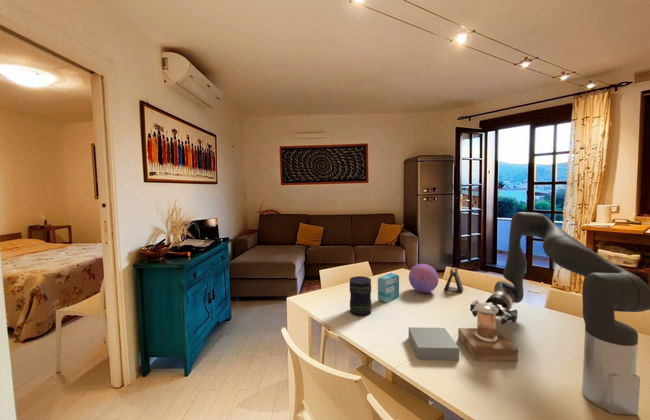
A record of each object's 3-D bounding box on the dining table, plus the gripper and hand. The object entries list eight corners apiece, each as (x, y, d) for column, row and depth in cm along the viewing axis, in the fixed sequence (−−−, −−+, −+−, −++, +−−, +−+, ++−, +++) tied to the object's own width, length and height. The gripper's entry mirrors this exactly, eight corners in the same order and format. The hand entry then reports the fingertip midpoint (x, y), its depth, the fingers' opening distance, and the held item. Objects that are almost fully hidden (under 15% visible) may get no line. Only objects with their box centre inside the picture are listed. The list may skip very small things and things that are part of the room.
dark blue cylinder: (346, 309, 127) (345, 277, 126) (364, 305, 131) (364, 275, 130) (356, 318, 118) (355, 284, 117) (375, 314, 121) (375, 281, 120)
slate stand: (459, 360, 88) (459, 348, 88) (417, 359, 89) (417, 347, 88) (444, 338, 101) (444, 327, 100) (408, 337, 102) (408, 327, 101)
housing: (501, 343, 90) (502, 311, 89) (480, 343, 90) (481, 310, 89) (490, 333, 96) (491, 302, 95) (471, 332, 97) (472, 302, 96)
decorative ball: (411, 296, 140) (411, 268, 139) (406, 286, 155) (406, 260, 154) (441, 297, 138) (442, 268, 137) (434, 287, 153) (434, 260, 152)
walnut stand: (517, 361, 87) (518, 349, 86) (475, 360, 87) (475, 348, 87) (495, 339, 99) (495, 328, 99) (458, 338, 100) (458, 328, 100)
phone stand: (443, 290, 148) (444, 268, 147) (445, 286, 153) (445, 265, 152) (462, 293, 143) (462, 270, 143) (463, 289, 148) (463, 268, 148)
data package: (385, 303, 132) (385, 279, 132) (377, 300, 136) (377, 277, 135) (399, 296, 140) (399, 274, 139) (391, 294, 144) (391, 272, 143)
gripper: (479, 289, 110) (466, 301, 99) (522, 298, 100) (513, 313, 89) (478, 307, 111) (465, 321, 99) (521, 318, 101) (512, 335, 89)
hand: (488, 317), depth 94 cm, fingers open, 8 cm apart
